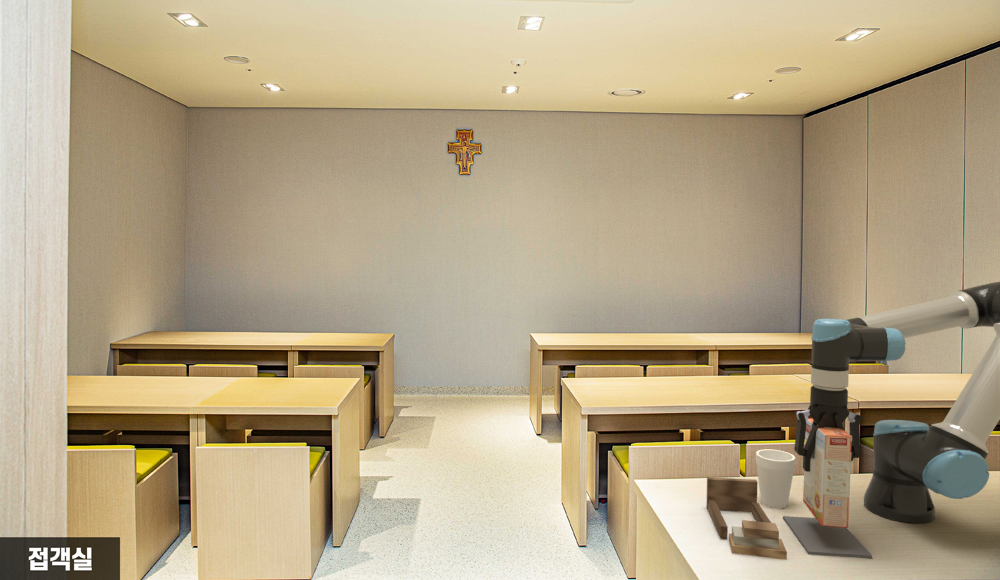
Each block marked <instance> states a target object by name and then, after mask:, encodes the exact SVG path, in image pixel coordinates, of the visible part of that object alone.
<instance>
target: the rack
mask: <svg viewBox="0 0 1000 580" xmlns="http://www.w3.org/2000/svg"><path fill="white" fill-rule="evenodd" d="M706 510H707V512H708V513H709V516H710V518H712V519H711V521H712V523H713V526H714V527H716V528H715V529H716V532H717V534H718V537H719V536H720V537H719V539H720V540H728V536H729V534H728V528H729V527H728V525H727V522H726V521H725V519H724V516H723V514H722V513H721V512H722V511H723V512H724V511H725V512H737V511H739V513H740V511H741V513H751V516H752V515H753V516H752V518H753V519H754V521H757V522H767V523H772V522H771V520H770V519H769V517H768V516H767V515H766V512H765V511H764V510H763V508H762V506H760V504H759V502H758V481H757V479H751V478H749V479H748V478H734V477H733V478H732V477H730V478H728V477H711V476H708V477H706Z"/></svg>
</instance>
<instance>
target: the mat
mask: <svg viewBox="0 0 1000 580" xmlns="http://www.w3.org/2000/svg"><path fill="white" fill-rule="evenodd" d="M782 519H783V521H784V522H785V523H786V525H787V526H788V528H789V529H790V531H791V532H792V533H793V535H794V536H795V537H796V539H797V541H798V542H799V543H800V545H801V546H802V548H803V549H804V551H805V552H806V554H808V555H816V556H830V557H843V558H844V557H845V558H846V557H847V558H857V559H860V558H862V559H863V558H864V559H873V557H874V556H873V555H872V553H870V551H869V550H868V549H867V548H866V547H865V546H864V545H863V543H861V542H860V540H859V539H858V538H857V537H856V536H855V535H854V534H853V533H852V532H851V530H849V528H841V527H831V526H821V524H820V523H819V522H818V520H817V519H816V518H815V517H807V516H805V517H803V516H788V515H782Z"/></svg>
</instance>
